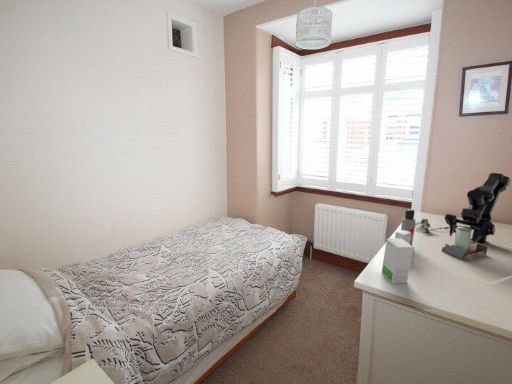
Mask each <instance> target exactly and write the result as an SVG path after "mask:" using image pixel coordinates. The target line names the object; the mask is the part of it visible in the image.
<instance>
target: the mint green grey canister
mask: <svg viewBox="0 0 512 384" xmlns="http://www.w3.org/2000/svg"><path fill="white" fill-rule="evenodd" d="M472 231H473V230H472V228H470V226H468V225H457V228H456V232H455V238H454V244H453V245H454V247H456V248H458V249H461V250H464V251H465V254H464V256H466V255H467V253H468V247H469V242H470V239H471V237H472V236H471V235H472Z"/></svg>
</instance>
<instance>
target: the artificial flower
mask: <svg viewBox="0 0 512 384" xmlns="http://www.w3.org/2000/svg"><path fill="white" fill-rule="evenodd" d="M432 226H433V224H431V223H429V219H428V218H422V219H421V220H420V221H417V222H416V221H415V229H414V232H416V233H418V234H419V233H421V234H424V233H426V232H427V231H429V228H431V229H430V231H435V230H441V229H444V230H448V229H450V226H447V227H438V228H437V227H436V228H432ZM455 226H456V227H455V230H454V232H453V233H456V231H457V226H458V223H457V224H456V225H455Z"/></svg>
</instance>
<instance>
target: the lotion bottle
mask: <svg viewBox="0 0 512 384" xmlns="http://www.w3.org/2000/svg"><path fill="white" fill-rule="evenodd" d="M415 223H416V219H415V209H412V208H409V209H405V214H404V217H402V219H401V227H400V231H401V230H405V231H409V232H411V238H410V245H411V246H412V247H413V241H414V235H415V234H414V233H415V229H416V228H415Z"/></svg>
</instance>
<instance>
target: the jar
mask: <svg viewBox="0 0 512 384" xmlns="http://www.w3.org/2000/svg"><path fill="white" fill-rule="evenodd" d="M477 244H478V243H477V242H475V243H474V242H473V241H471V240H470V242H469V247H468V254H474V253H476V248H477Z"/></svg>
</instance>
